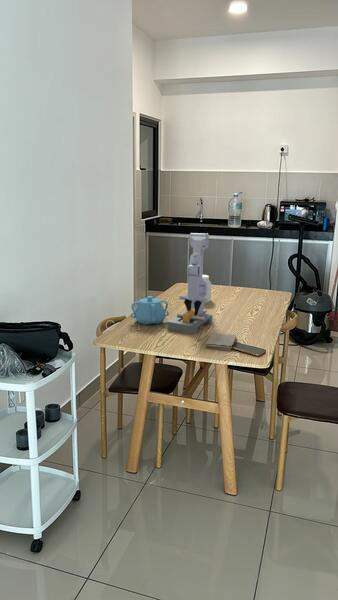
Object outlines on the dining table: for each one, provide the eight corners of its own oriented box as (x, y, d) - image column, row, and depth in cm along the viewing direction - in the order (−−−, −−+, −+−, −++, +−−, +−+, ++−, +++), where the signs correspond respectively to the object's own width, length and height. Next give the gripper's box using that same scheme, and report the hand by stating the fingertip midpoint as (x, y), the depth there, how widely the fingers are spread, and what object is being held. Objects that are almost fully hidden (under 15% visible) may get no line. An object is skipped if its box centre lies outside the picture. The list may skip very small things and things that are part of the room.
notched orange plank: (188, 324, 234) (188, 315, 233) (182, 323, 235) (182, 314, 234) (197, 318, 244) (197, 309, 243) (192, 317, 245) (192, 308, 244)
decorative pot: (134, 329, 234) (134, 302, 231) (127, 317, 252) (127, 293, 249) (173, 326, 239) (174, 300, 236) (163, 315, 257) (163, 291, 254)
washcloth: (204, 349, 209) (204, 343, 208) (211, 336, 226) (211, 330, 225) (231, 352, 206) (232, 345, 205) (236, 339, 223) (236, 333, 222)
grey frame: (167, 329, 234) (167, 318, 233) (185, 318, 253) (185, 308, 252) (195, 334, 228) (195, 323, 226) (211, 322, 247) (212, 311, 245)
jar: (190, 301, 288) (190, 276, 285) (194, 297, 297) (195, 273, 293) (208, 302, 285) (209, 278, 281) (212, 299, 294) (213, 275, 290)
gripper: (176, 288, 238) (176, 314, 241) (203, 291, 232) (202, 318, 235) (182, 285, 244) (182, 311, 247) (209, 288, 238) (208, 315, 241)
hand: (192, 314), depth 242 cm, fingers closed on notched orange plank, 3 cm apart
